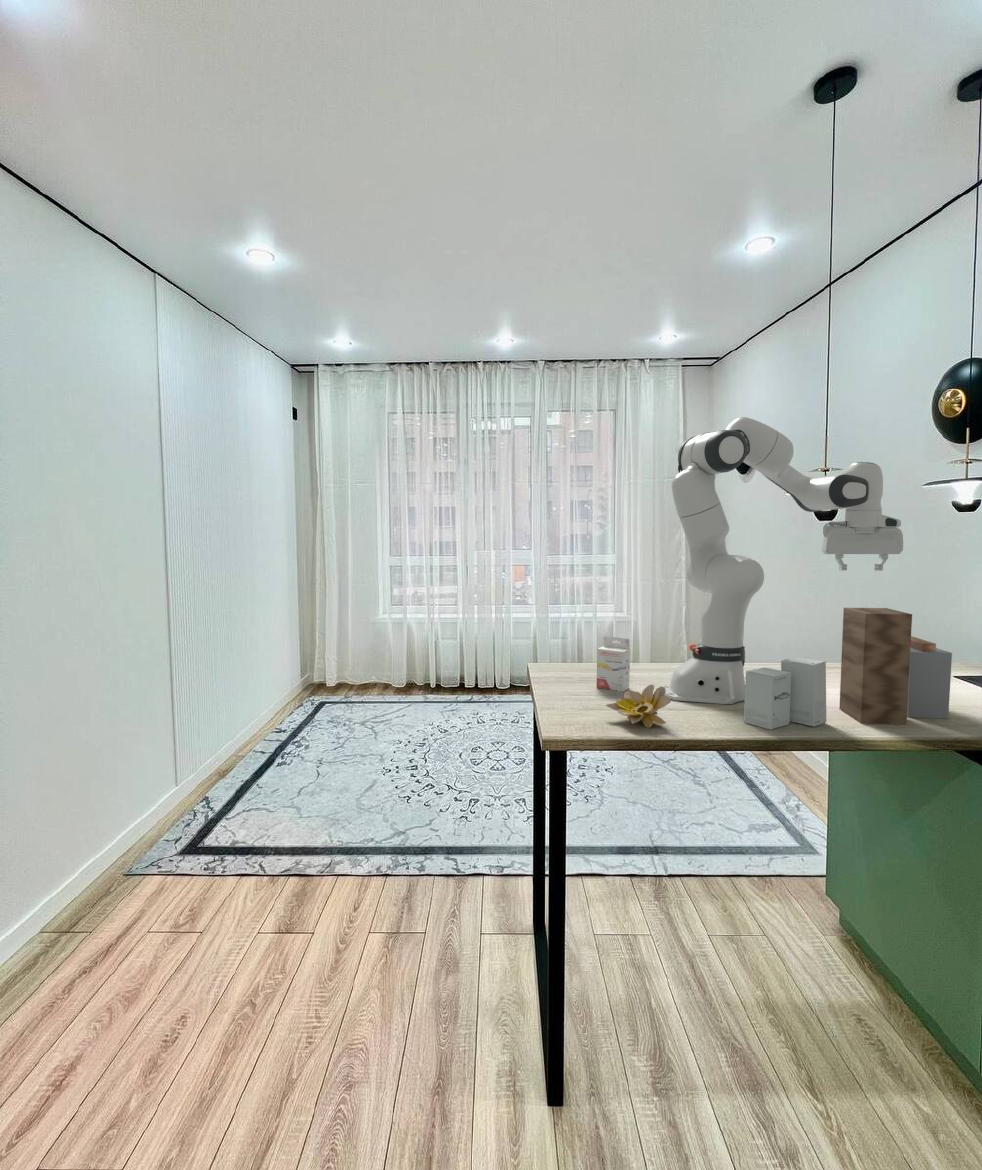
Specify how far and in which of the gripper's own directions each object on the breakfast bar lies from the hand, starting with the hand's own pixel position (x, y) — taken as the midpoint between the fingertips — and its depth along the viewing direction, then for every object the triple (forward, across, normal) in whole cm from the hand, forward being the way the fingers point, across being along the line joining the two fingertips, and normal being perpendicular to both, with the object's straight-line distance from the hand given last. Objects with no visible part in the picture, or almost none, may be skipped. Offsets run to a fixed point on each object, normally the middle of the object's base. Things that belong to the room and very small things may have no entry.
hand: (860, 570), depth 176 cm
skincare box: (+34, -26, -34) cm, 55 cm away
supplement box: (+34, -35, -37) cm, 61 cm away
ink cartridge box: (+34, -69, -7) cm, 77 cm away
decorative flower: (+34, -65, -38) cm, 83 cm away
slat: (+18, +5, -16) cm, 25 cm away
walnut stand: (+34, -8, -28) cm, 45 cm away
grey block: (+34, +5, -20) cm, 40 cm away
